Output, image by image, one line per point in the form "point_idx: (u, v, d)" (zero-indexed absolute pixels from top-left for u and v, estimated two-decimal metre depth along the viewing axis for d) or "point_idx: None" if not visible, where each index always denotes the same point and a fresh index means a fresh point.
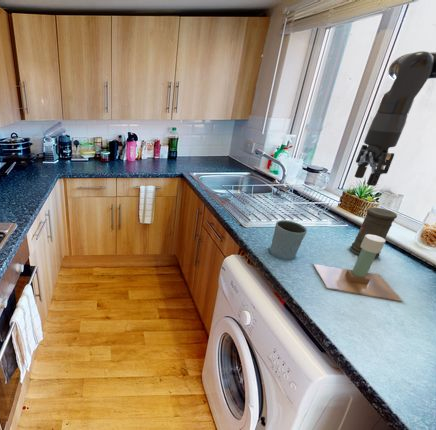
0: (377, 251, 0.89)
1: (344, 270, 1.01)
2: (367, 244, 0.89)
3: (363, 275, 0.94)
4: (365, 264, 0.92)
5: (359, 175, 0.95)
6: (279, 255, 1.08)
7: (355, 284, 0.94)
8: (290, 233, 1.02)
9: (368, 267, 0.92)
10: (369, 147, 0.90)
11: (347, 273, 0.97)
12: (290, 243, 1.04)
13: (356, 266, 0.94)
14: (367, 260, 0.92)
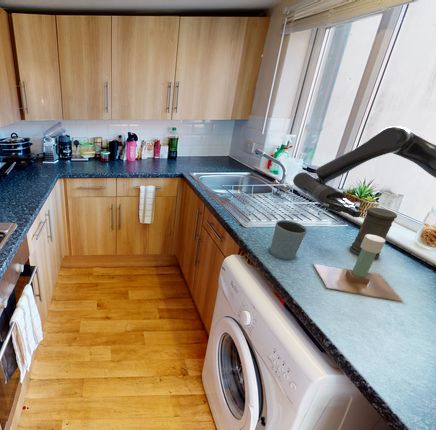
0: (377, 251, 0.89)
1: (344, 270, 1.01)
2: (367, 244, 0.89)
3: (363, 275, 0.94)
4: (365, 264, 0.92)
5: None
6: (279, 255, 1.08)
7: (355, 284, 0.94)
8: (290, 233, 1.02)
9: (368, 267, 0.92)
10: None
11: (347, 273, 0.97)
12: (290, 243, 1.04)
13: (356, 266, 0.94)
14: (367, 260, 0.92)
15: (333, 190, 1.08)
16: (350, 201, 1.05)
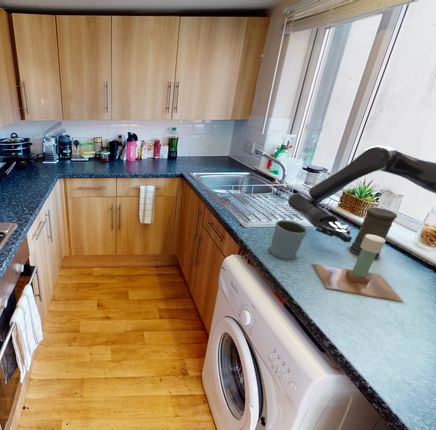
0: (377, 251, 0.89)
1: (344, 270, 1.01)
2: (367, 244, 0.89)
3: (363, 275, 0.94)
4: (365, 264, 0.92)
5: None
6: (279, 255, 1.08)
7: (355, 284, 0.94)
8: (290, 233, 1.02)
9: (368, 267, 0.92)
10: None
11: (347, 273, 0.97)
12: (290, 243, 1.04)
13: (356, 266, 0.94)
14: (367, 260, 0.92)
15: (326, 213, 1.12)
16: (342, 225, 1.09)
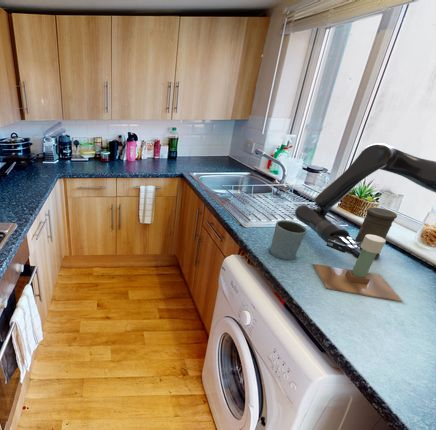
0: (377, 251, 0.88)
1: (344, 270, 1.01)
2: (368, 245, 0.89)
3: (363, 275, 0.94)
4: (365, 264, 0.92)
5: None
6: (279, 255, 1.08)
7: (355, 284, 0.94)
8: (290, 233, 1.02)
9: (368, 267, 0.92)
10: None
11: (347, 273, 0.97)
12: (290, 243, 1.04)
13: (356, 266, 0.94)
14: (367, 260, 0.91)
15: (337, 228, 1.05)
16: (354, 240, 1.02)
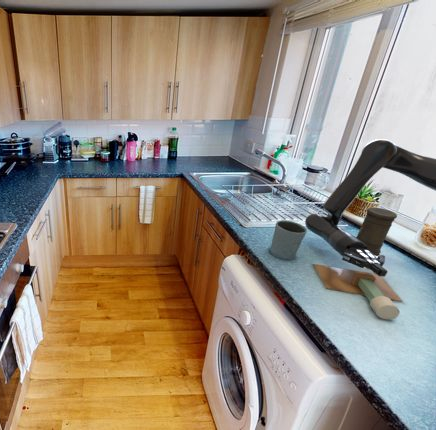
0: None
1: (344, 270, 1.01)
2: (374, 310, 0.82)
3: None
4: None
5: None
6: (279, 255, 1.08)
7: None
8: (290, 233, 1.02)
9: None
10: None
11: (355, 276, 0.92)
12: (290, 243, 1.04)
13: (363, 287, 0.89)
14: None
15: (353, 240, 0.97)
16: (373, 253, 0.94)
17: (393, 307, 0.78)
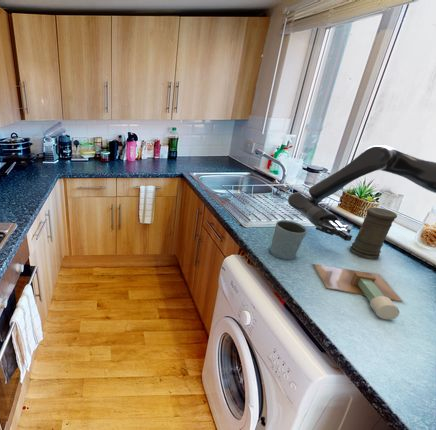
0: None
1: (344, 270, 1.01)
2: (374, 310, 0.82)
3: None
4: None
5: None
6: (279, 255, 1.08)
7: None
8: (290, 233, 1.02)
9: None
10: None
11: (355, 276, 0.92)
12: (290, 243, 1.04)
13: (363, 287, 0.89)
14: None
15: (326, 212, 1.11)
16: (342, 223, 1.09)
17: (393, 307, 0.78)
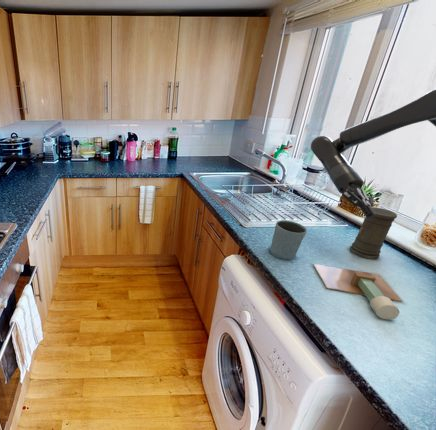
0: None
1: (344, 270, 1.01)
2: (374, 310, 0.82)
3: None
4: None
5: None
6: (279, 255, 1.08)
7: None
8: (290, 233, 1.02)
9: None
10: None
11: (355, 276, 0.92)
12: (290, 243, 1.04)
13: (363, 287, 0.89)
14: None
15: (357, 177, 1.00)
16: None
17: (393, 307, 0.78)
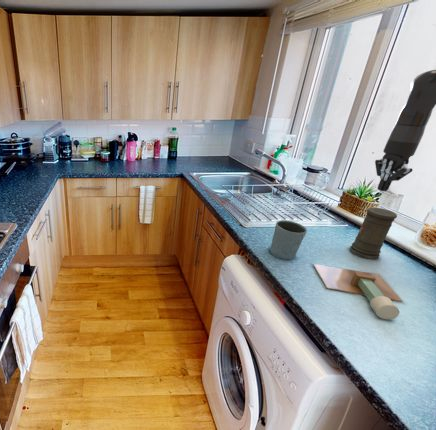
0: None
1: (344, 270, 1.01)
2: (374, 310, 0.82)
3: None
4: None
5: None
6: (279, 255, 1.08)
7: None
8: (290, 233, 1.02)
9: None
10: (386, 154, 0.97)
11: (355, 276, 0.92)
12: (290, 243, 1.04)
13: (363, 287, 0.89)
14: None
15: None
16: None
17: (393, 307, 0.78)
